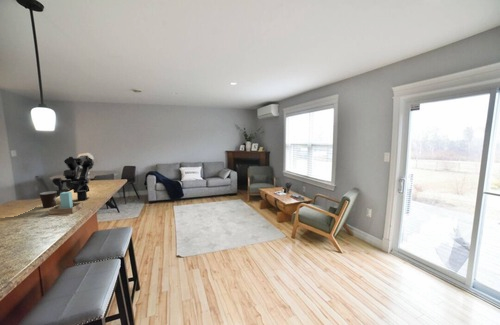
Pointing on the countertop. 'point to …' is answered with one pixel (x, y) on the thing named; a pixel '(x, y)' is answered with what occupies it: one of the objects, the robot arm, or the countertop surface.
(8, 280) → the countertop surface
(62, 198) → the tea tin
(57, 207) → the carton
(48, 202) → the coffee mug
